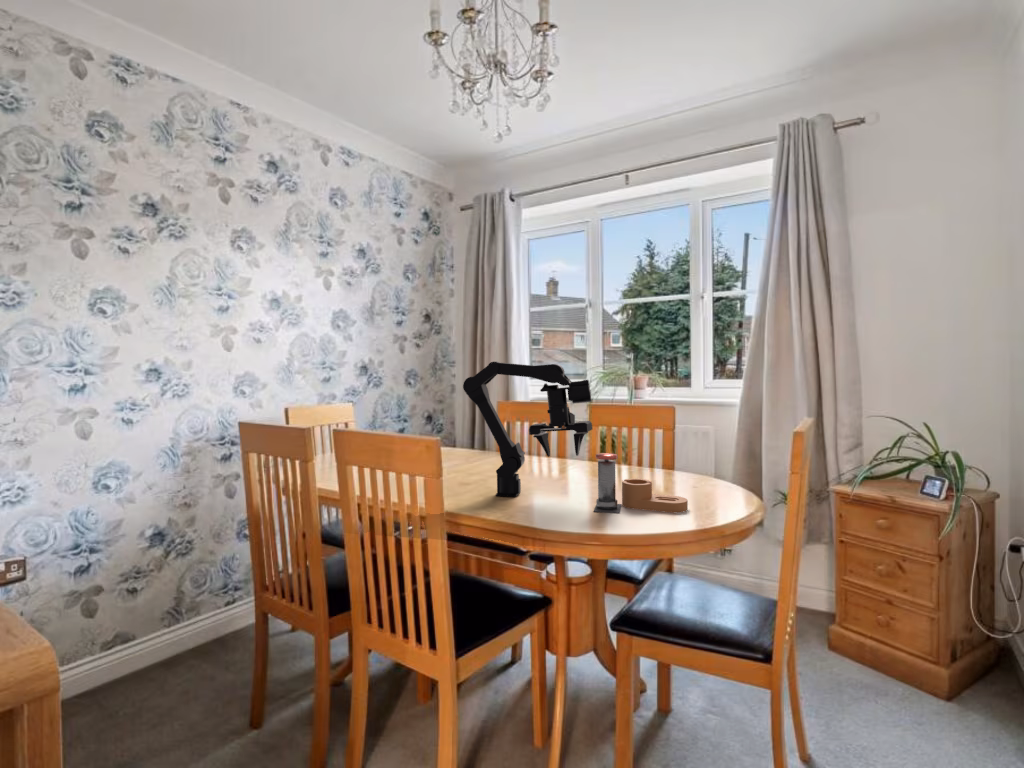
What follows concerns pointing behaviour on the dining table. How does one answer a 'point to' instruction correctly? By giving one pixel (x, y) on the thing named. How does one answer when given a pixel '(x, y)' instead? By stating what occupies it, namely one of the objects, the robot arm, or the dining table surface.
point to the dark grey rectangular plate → (609, 510)
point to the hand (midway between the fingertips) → (563, 455)
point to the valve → (606, 482)
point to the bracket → (649, 497)
